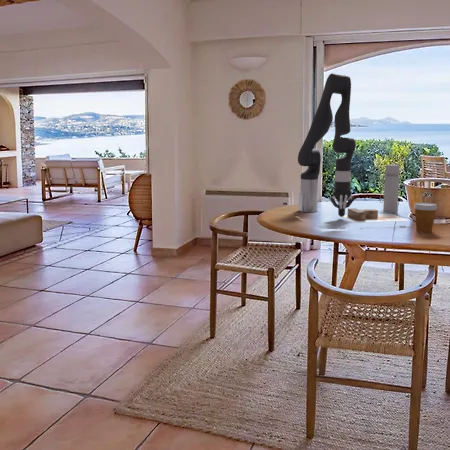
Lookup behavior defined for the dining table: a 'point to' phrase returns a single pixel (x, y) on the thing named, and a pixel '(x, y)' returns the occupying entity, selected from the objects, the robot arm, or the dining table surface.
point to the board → (380, 218)
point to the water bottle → (391, 188)
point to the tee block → (362, 214)
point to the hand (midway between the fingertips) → (341, 216)
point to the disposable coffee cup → (425, 216)
